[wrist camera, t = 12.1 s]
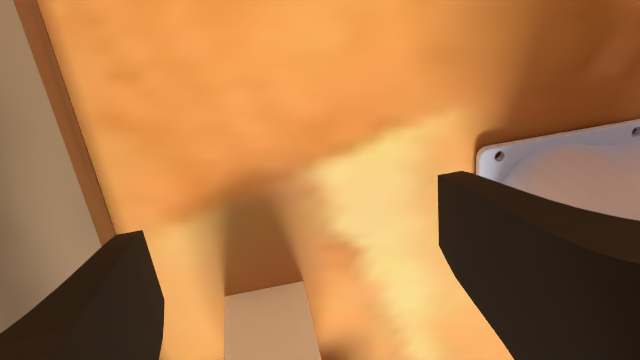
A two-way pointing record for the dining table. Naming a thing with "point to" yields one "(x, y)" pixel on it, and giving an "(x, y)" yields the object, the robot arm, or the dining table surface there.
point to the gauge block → (270, 325)
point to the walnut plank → (40, 170)
